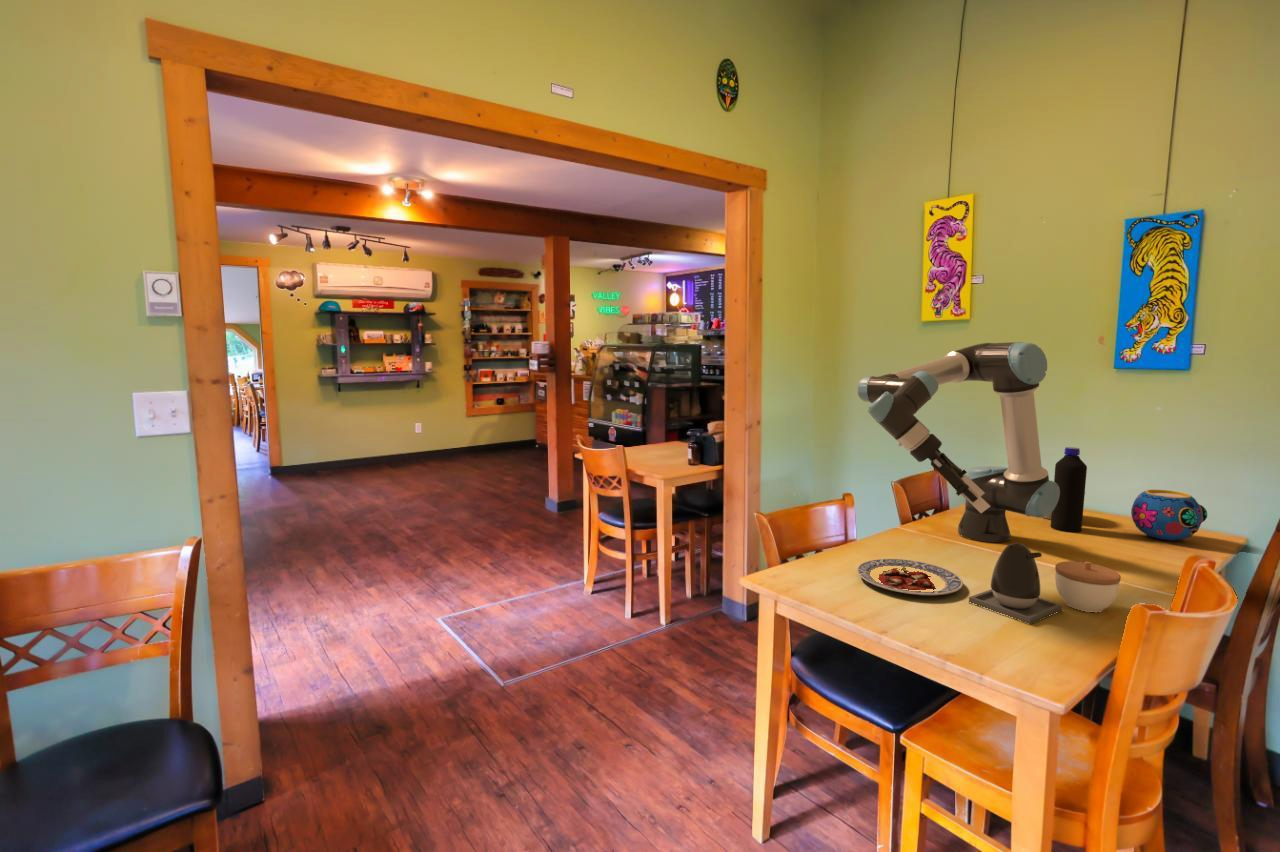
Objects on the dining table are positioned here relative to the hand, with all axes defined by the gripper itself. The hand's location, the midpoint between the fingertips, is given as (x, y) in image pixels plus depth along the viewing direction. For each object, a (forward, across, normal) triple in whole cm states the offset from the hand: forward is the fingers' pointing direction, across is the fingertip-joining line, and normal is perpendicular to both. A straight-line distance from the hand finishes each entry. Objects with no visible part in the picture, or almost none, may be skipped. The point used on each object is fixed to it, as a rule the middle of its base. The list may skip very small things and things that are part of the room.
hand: (983, 502), depth 157 cm
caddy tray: (+21, +10, -11) cm, 26 cm away
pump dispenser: (+20, +10, -11) cm, 25 cm away
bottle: (+40, -72, +5) cm, 82 cm away
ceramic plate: (+4, +3, -28) cm, 28 cm away
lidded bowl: (+32, +3, -1) cm, 32 cm away
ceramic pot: (+60, -71, +23) cm, 96 cm away
